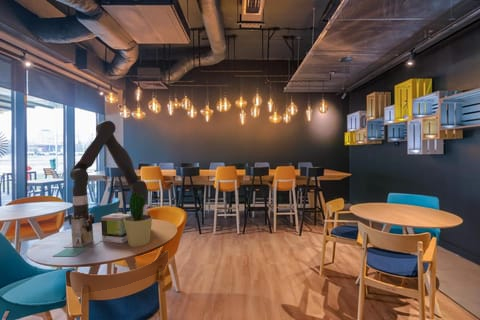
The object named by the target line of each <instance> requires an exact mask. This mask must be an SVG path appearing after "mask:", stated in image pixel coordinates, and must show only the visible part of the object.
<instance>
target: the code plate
mask: <svg viewBox="0 0 480 320" xmlns="http://www.w3.org/2000/svg"><path fill="white" fill-rule="evenodd" d="M101 242H102V240H94V241H92V242H90V243H88V244H86V245H84V246H82V247H81V248H93V247H94V246H97V245H98V244H99V243H101ZM63 248H64V249H66V248H80V247H79V246H73V245H72V242H71V243H68V244H67V245H65V246H64V247H63Z"/></svg>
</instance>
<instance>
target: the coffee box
mask: <svg viewBox="0 0 480 320" xmlns="http://www.w3.org/2000/svg"><path fill="white" fill-rule="evenodd" d="M85 219H86V220H88V219H90V217H89V216H87V218H85V217H74V218H71V225H70V226H71V228H70V229H71V240H72V241H71V243H72V245H73V246H79V248H83V247H82V246H84V245H86V244H88V243H90V242H92V241H95V240H94V231H93V229H94V228H93V224H91V230H90V232H87V225H86V223H85Z"/></svg>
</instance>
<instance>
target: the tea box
mask: <svg viewBox="0 0 480 320" xmlns="http://www.w3.org/2000/svg"><path fill="white" fill-rule="evenodd" d="M129 216H132V213H115V212H114V213H110V214H106V215H104V216H101V217H100V223H101V238H102V239H101V242H109V243H117V244H118V243H119V244H123V243H126V242H128V238H127V234H126V229H125V224H124V218H126V217H129Z"/></svg>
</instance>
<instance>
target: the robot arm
mask: <svg viewBox="0 0 480 320" xmlns="http://www.w3.org/2000/svg"><path fill="white" fill-rule="evenodd" d="M95 130H96V133H97V134H96V135H95V137H94V139H93V141H92V142H91V143H90V145H89V146H88V147H86V149H85V151H84V153H82V155H81V158H79V161H78V162H77V163H76V164H75V165H74V166H73V167H72V169H71V170H70V173H69V177H70V179H71V180H73V181H74V186H73V187H72V211H73V212H72V213H70V214H68V223H69V226H71V218H74V217H85V218H87V216H89V217H90V219H88V220H86V219H85V223H86V225H87V232H90V230H91V224H92V225H93V224H95V213H90V212H89V210H90V209H89V208H90V206H89V195H88V184H89V183H88V182H89V173H88V171H87V170H88V169H89V168H91V167H92V166H93V165H94V163H95V162H96V160H97V158H98V156H99V154H100V153H101V151H102V149H103V147H104V146H106V148H107V150H108V152H109V154H110V155H111V158H112V160H113V161H114V163H115V165H116V166H117V168H118V169H119V171H120V173H121V174H122V175H123V177H124V178H125V181H126V183H127V186H128V188H129V190H130V191H131V192H132V195H133V194H134V193H137V192H139V193H140V194H141V195H143V197H144V199H145V206H144V207H143V214H148V210H147V209H148V207H147V206H148V204H147V203H148V186H147V184H146V182H145V181H143V180H141V179H140V178H139V176H138V174H137V172H136V170H135V168H134V163H133V160H132V158H131V156H130V155H129V153H128V151H127V150H126V148H125V147H123V146H122V145H121V144H120V142H119V141H118V140H117V138H116V136H115V132H116V124H115V122H114V121H111V120H102V121H101V122H99V123H97V124H96V126H95Z"/></svg>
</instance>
